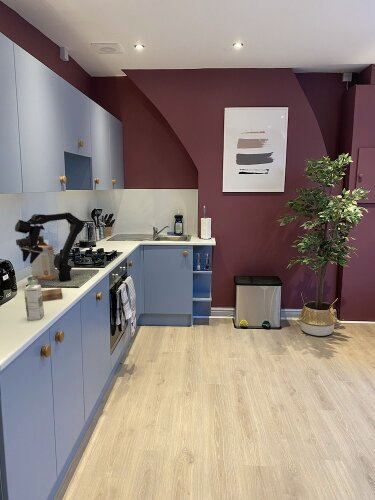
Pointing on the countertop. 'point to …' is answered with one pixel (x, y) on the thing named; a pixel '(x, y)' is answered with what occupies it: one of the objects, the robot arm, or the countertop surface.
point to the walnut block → (52, 294)
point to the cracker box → (44, 264)
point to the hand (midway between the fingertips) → (27, 262)
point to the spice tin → (33, 280)
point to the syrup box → (34, 302)
